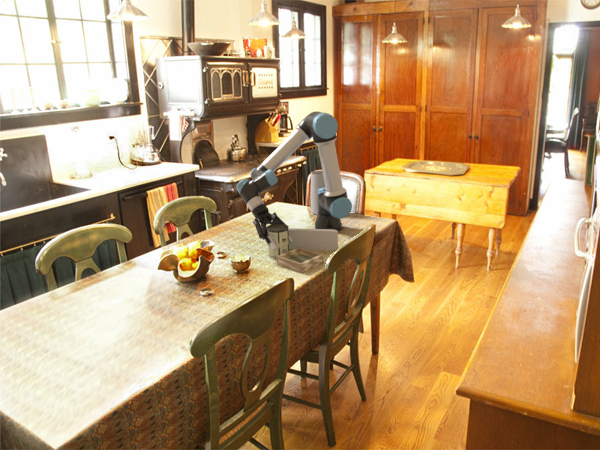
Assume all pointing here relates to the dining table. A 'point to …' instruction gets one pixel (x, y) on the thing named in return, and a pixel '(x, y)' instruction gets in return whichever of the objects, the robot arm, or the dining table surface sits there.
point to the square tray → (299, 260)
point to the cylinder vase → (316, 189)
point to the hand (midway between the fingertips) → (282, 245)
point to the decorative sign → (313, 239)
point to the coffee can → (278, 239)
